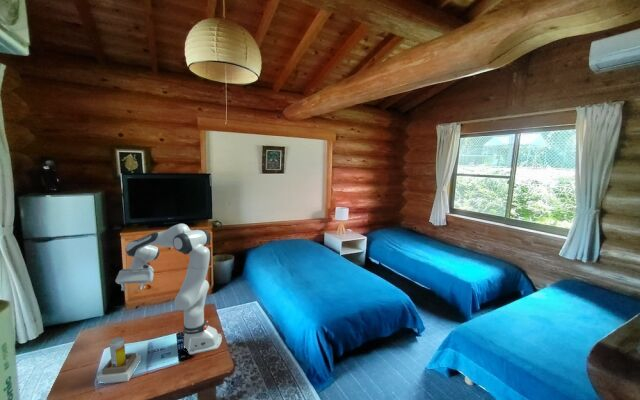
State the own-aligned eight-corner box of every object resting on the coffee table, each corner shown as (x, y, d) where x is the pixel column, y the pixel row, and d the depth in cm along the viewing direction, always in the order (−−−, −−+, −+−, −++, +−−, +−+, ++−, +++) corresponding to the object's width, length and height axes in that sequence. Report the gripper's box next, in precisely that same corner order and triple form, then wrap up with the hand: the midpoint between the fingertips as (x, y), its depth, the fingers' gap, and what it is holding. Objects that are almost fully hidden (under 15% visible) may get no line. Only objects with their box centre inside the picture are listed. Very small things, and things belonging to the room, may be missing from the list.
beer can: (128, 361, 148) (126, 336, 145) (120, 370, 142) (118, 344, 139) (117, 361, 148) (115, 336, 145) (109, 370, 142) (106, 344, 139)
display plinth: (141, 361, 154) (140, 350, 153) (128, 381, 140) (127, 369, 139) (113, 363, 151) (112, 353, 150) (97, 384, 138) (96, 372, 137)
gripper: (117, 267, 170) (110, 289, 162) (153, 265, 174) (147, 287, 166) (122, 271, 175) (115, 292, 167) (156, 269, 179) (151, 290, 171)
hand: (131, 289), depth 166 cm, fingers open, 8 cm apart
